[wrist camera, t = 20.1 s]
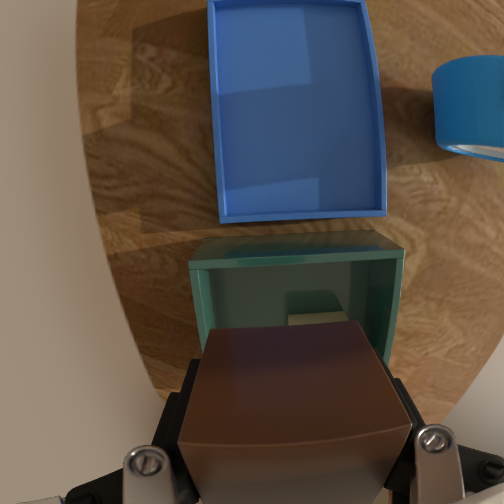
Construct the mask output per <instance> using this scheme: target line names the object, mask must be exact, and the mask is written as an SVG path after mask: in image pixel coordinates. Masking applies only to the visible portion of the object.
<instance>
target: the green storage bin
mask: <svg viewBox="0 0 504 504" xmlns="http://www.w3.org/2000/svg"><path fill="white" fill-rule="evenodd" d="M404 255H405V249H404V248H402V247H400V246H399V245H397V244H396V243H394V242H393V241H391V240H390V239H388V238H386V237H385V236H383V235H382V234H380V233H378V232H377V231H375V230H355V231H332V232H310V233H290V234H270V235H252V236H234V237H217V238H205V239H204V240H203V241H202V243H201V244H200V245H199V247H198V248H197V250H196V251H195V252H194V254H193V255H192V256H191V258H190V259H189V261H188V266H189V269H190V270H189V274H190V281H191V288H192V295H193V302H194V308H195V315H196V321H197V327H198V333H199V339H200V345H201V351H202V354H203V351H204V347H205V344H206V340H207V337H208V334H209V330H210V329H213V328H250V327H272V326H288V315H293V314H310V313H324V312H338V311H344V312H345V314H346V316H347V318H348V319H349V321H351V320H357V322H358V323H359V325H360V327H361V329H362V330H363V332H364V334H365V336H366V337H367V339H368V341H369V343H370V345H371V346H372V348H377V350H378V351H379V353H380V355H381V356H382V358H383V360H384V362H385V363H386V365H387V367H388V364H389V360H390V355H391V350H392V344H393V339H394V334H395V328H396V322H397V315H398V309H399V301H400V294H401V286H402V277H403V267H404Z"/></svg>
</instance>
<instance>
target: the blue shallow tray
mask: <svg viewBox="0 0 504 504" xmlns="http://www.w3.org/2000/svg"><path fill="white" fill-rule="evenodd" d="M207 19H208V48H209V72H210V92H211V110H212V127H213V142H214V157H215V171H216V185H217V197H218V210H219V221H220V224H224V223H240V222H258V221H276V220H297V219H320V218H348V217H383V216H386V214H387V211H386V210H387V175H386V147H385V130H384V117H383V106H382V97H381V88H380V80H379V73H378V66H377V59H376V53H375V47H374V41H373V36H372V31H371V26H370V21H369V16H368V12H367V7H366V4H365V0H207Z"/></svg>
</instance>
